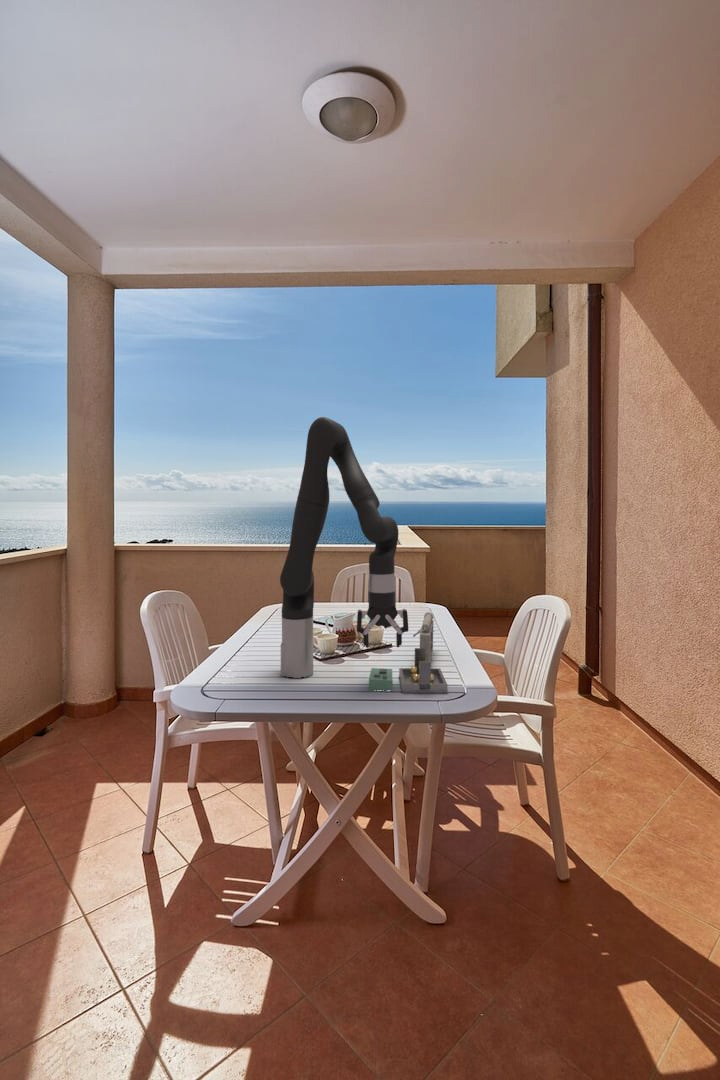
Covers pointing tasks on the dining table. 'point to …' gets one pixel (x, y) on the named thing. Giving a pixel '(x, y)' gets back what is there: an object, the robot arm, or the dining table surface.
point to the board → (380, 679)
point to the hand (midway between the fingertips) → (382, 646)
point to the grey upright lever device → (427, 636)
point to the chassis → (422, 676)
